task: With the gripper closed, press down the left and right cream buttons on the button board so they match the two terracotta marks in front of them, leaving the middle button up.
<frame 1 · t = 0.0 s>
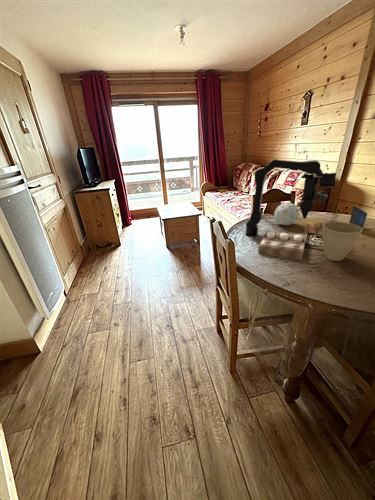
hand: (305, 216, 118), 15 cm above the table, tool pointing down, fingers open, 9 cm apart
puzzle ball: (285, 224, 148), on the table
plant pot: (334, 257, 105), on the table
button right: (298, 239, 115), point 5 cm above the table, slide at 0.0 cm
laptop: (343, 229, 135), on the table
lion figurine: (312, 234, 131), on the table
button left: (270, 235, 122), point 5 cm above the table, slide at 0.0 cm
button board: (282, 247, 118), on the table
button middle: (284, 237, 118), point 5 cm above the table, slide at 0.0 cm
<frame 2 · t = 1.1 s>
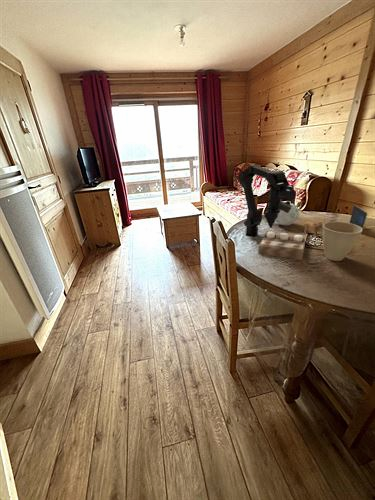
hand: (271, 225, 119), 11 cm above the table, tool pointing down, fingers open, 7 cm apart
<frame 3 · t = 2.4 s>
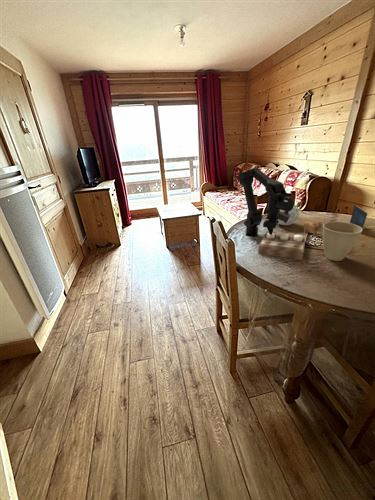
hand: (270, 234, 121), 6 cm above the table, tool pointing down, fingers closed, pressing on button left
button left: (270, 237, 122), point 4 cm above the table, slide at 0.8 cm, touching gripper
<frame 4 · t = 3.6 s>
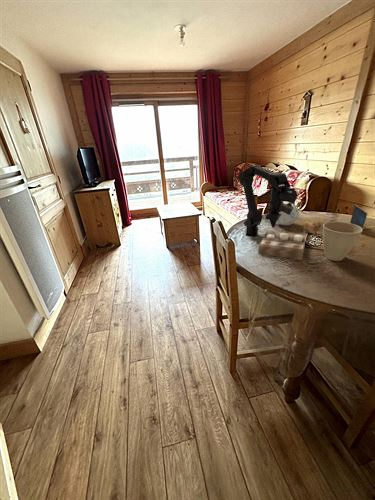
hand: (273, 227, 119), 10 cm above the table, tool pointing down, fingers closed
button left: (270, 238, 122), point 3 cm above the table, slide at 1.6 cm
everything else where it was.
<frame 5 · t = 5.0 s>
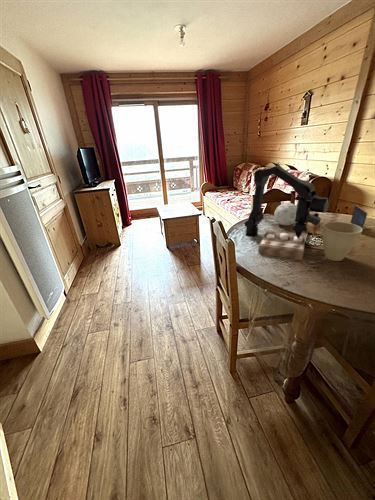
hand: (298, 237, 115), 6 cm above the table, tool pointing down, fingers closed, pressing on button right
button right: (297, 240, 116), point 4 cm above the table, slide at 0.9 cm, touching gripper
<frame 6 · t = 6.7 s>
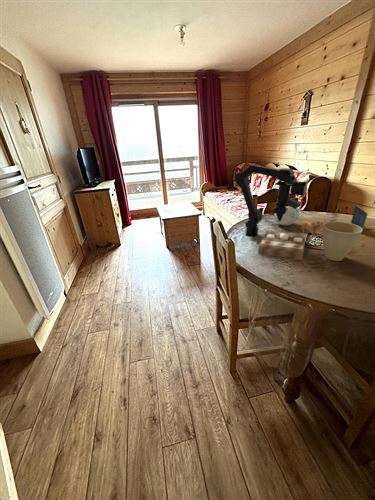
hand: (279, 221, 123), 11 cm above the table, tool pointing down, fingers closed
button right: (297, 241, 116), point 3 cm above the table, slide at 1.6 cm
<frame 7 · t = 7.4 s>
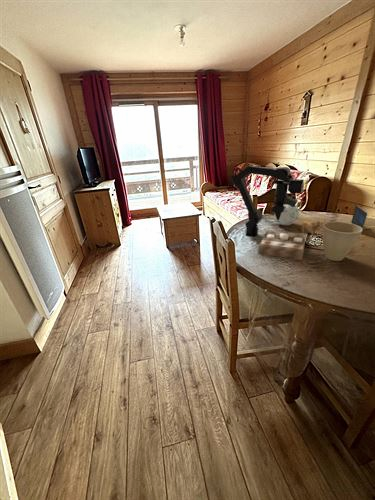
hand: (278, 219, 124), 12 cm above the table, tool pointing down, fingers closed
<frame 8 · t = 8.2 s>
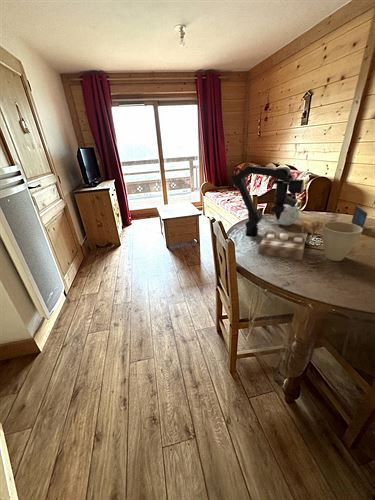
hand: (278, 219, 124), 12 cm above the table, tool pointing down, fingers closed
at the end: button left slide at 1.6 cm; button right slide at 1.6 cm; button middle slide at 0.0 cm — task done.
